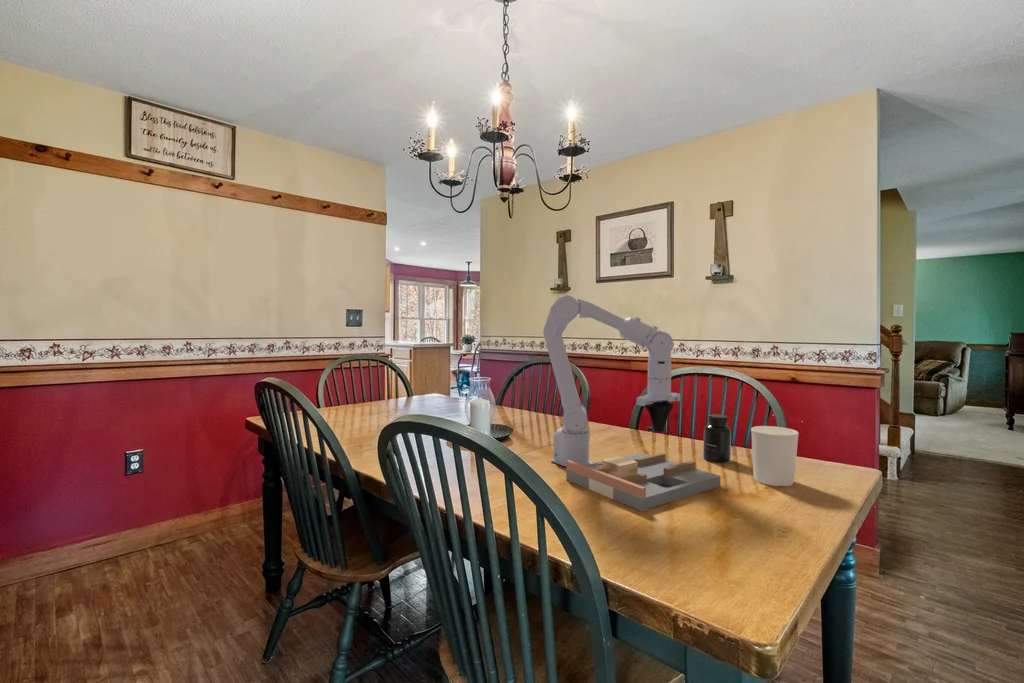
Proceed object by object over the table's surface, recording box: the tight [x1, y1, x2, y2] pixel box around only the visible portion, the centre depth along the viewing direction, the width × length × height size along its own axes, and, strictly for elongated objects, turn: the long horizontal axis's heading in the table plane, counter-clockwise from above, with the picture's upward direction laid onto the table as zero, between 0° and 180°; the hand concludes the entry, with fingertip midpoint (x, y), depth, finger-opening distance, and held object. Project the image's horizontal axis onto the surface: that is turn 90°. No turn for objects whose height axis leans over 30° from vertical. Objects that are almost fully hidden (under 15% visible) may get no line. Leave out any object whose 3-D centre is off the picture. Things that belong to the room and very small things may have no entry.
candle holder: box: [750, 425, 800, 487], centre depth 113 cm, size 10×10×12 cm
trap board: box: [565, 452, 722, 512], centre depth 112 cm, size 23×26×4 cm
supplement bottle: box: [702, 414, 732, 464], centre depth 131 cm, size 7×7×12 cm
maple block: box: [601, 455, 638, 479], centre depth 107 cm, size 6×6×4 cm
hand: (658, 431), depth 124 cm, fingers closed
